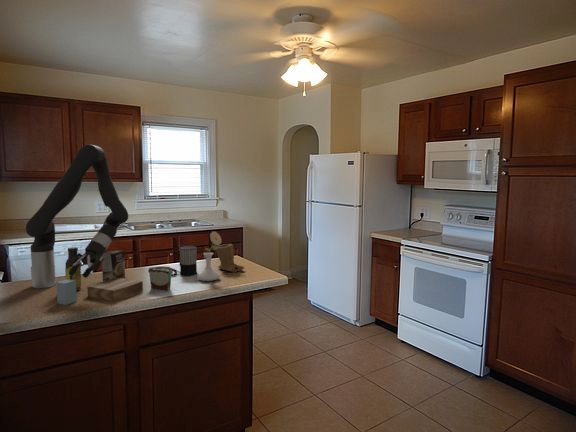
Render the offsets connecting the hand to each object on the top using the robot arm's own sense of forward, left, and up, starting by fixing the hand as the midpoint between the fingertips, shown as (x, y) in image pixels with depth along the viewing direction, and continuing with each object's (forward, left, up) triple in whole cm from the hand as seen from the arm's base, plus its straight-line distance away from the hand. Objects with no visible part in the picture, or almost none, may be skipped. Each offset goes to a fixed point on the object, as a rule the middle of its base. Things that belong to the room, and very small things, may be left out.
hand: (77, 275), depth 161 cm
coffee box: (-4, +23, -10) cm, 25 cm away
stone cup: (+32, +70, -10) cm, 77 cm away
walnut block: (+9, +12, -11) cm, 18 cm away
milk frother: (+14, +51, -10) cm, 54 cm away
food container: (+23, +27, -10) cm, 37 cm away
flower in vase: (+34, +49, -10) cm, 60 cm away
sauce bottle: (-13, +8, -10) cm, 18 cm away
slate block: (0, -5, -10) cm, 11 cm away
